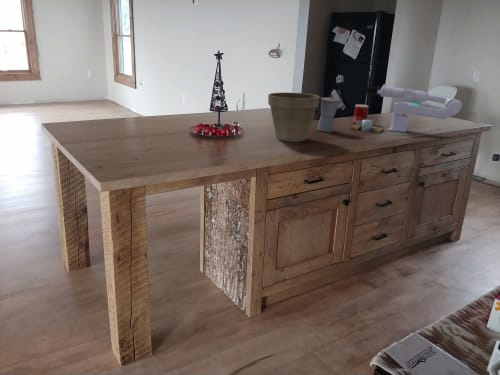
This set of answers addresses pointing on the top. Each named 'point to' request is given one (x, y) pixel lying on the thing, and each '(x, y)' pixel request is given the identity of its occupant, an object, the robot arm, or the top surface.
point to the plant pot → (292, 114)
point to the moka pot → (327, 113)
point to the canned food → (360, 113)
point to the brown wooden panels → (374, 129)
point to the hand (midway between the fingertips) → (367, 89)
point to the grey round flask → (365, 125)
